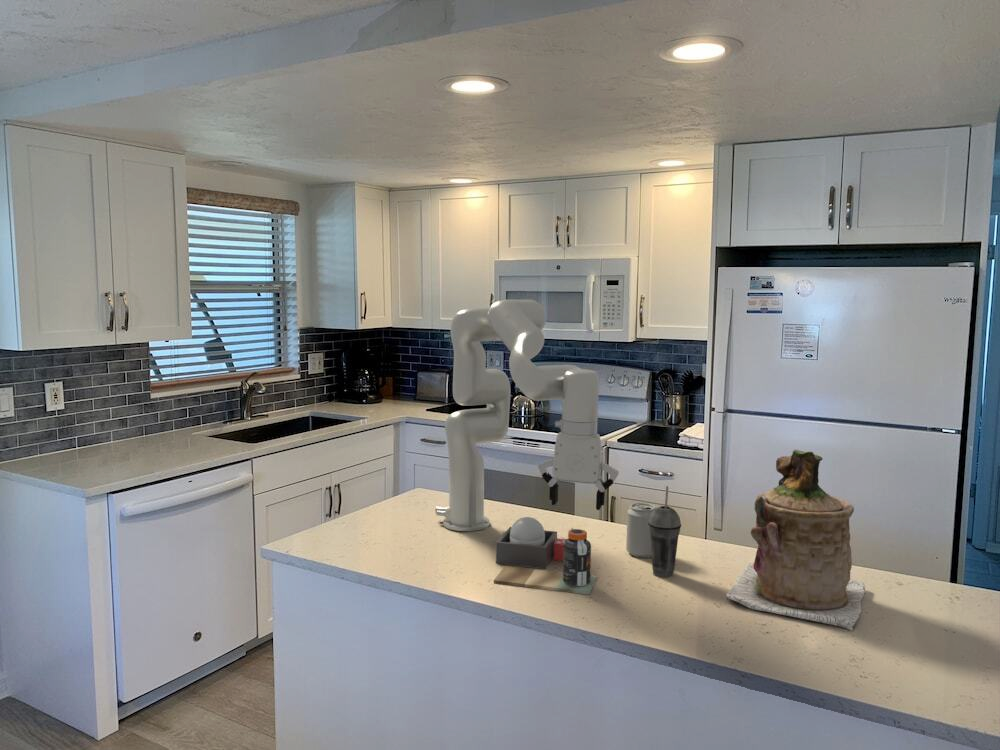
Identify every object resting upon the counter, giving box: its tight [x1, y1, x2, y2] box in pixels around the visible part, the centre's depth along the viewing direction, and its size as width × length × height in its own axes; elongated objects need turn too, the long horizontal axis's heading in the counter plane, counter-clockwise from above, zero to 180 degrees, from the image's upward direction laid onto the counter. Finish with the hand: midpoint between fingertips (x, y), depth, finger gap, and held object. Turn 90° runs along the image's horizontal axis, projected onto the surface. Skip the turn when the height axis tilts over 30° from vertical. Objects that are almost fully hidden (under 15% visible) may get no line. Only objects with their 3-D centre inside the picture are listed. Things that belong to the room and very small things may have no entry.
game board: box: [493, 565, 597, 595], centre depth 162 cm, size 21×9×1 cm, turn 73°
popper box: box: [495, 526, 568, 570], centre depth 175 cm, size 16×12×5 cm
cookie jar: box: [726, 449, 866, 631], centre depth 152 cm, size 25×25×32 cm
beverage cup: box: [648, 485, 682, 579], centre depth 165 cm, size 7×7×20 cm
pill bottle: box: [562, 528, 592, 586], centre depth 159 cm, size 6×6×11 cm
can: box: [625, 502, 657, 559], centre depth 179 cm, size 8×8×12 cm
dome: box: [510, 516, 545, 546], centre depth 176 cm, size 8×8×8 cm
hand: (576, 505), depth 158 cm, fingers open, 9 cm apart
